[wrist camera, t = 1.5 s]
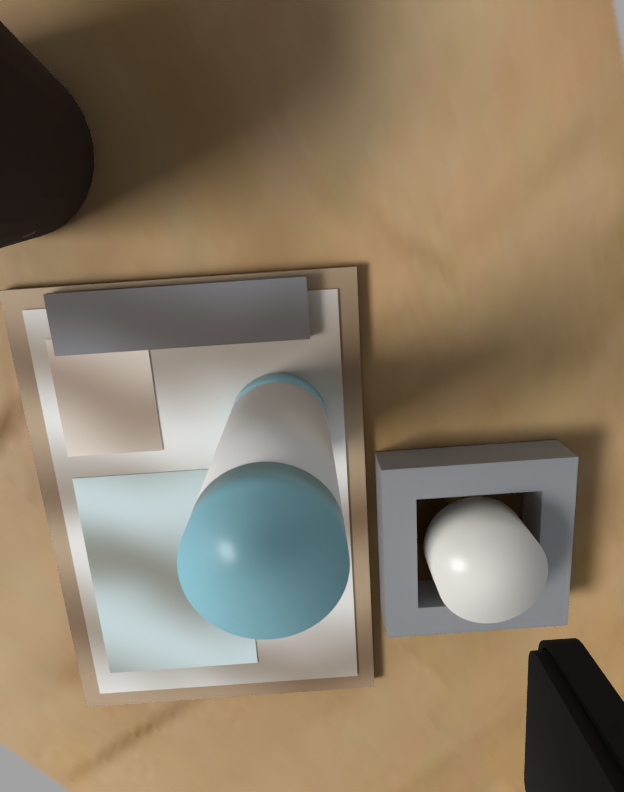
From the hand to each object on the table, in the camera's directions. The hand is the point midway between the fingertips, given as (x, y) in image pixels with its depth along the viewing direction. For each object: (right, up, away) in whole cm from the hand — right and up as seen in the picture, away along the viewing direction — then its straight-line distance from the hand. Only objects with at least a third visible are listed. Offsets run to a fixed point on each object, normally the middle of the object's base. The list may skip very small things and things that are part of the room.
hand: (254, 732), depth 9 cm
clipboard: (-4, +1, +16) cm, 17 cm away
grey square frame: (+8, -1, +17) cm, 18 cm away
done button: (+8, -1, +15) cm, 17 cm away
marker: (0, +5, +14) cm, 15 cm away
